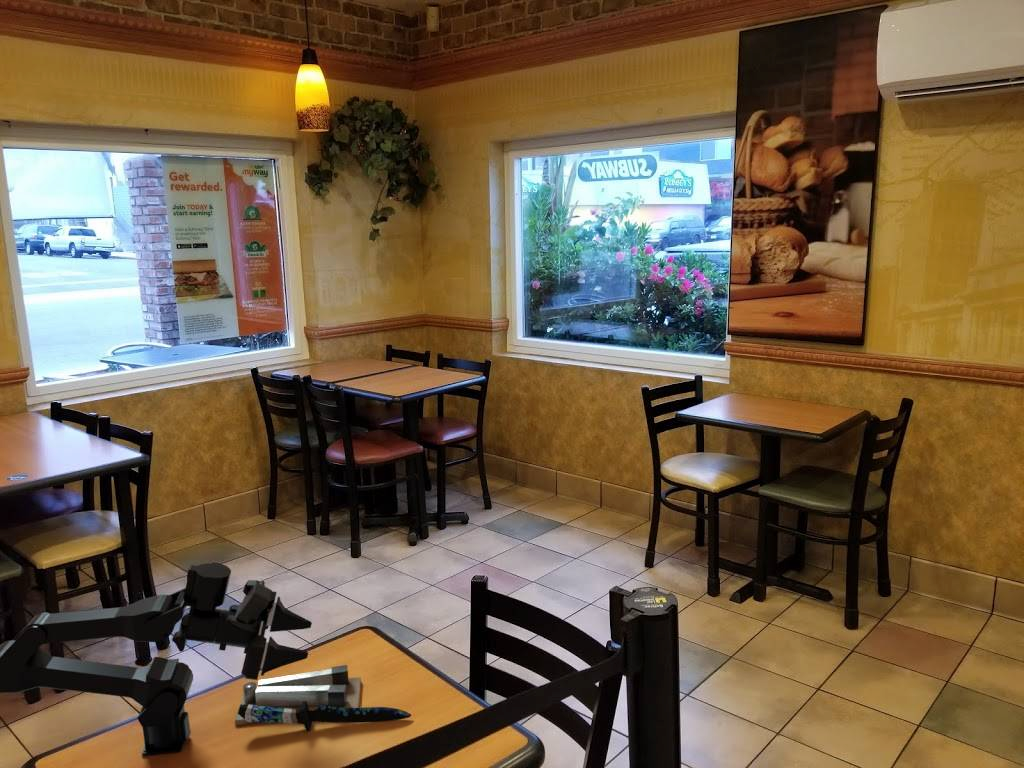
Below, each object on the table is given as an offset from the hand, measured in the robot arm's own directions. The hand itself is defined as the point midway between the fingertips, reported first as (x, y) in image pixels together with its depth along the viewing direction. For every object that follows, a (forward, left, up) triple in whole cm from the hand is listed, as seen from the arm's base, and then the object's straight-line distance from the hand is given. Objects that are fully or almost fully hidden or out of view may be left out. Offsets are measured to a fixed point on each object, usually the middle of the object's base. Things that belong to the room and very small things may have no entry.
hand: (309, 639), depth 137 cm
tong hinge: (-12, +6, -15) cm, 21 cm away
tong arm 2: (-3, +9, -15) cm, 18 cm away
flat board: (-3, +6, -17) cm, 18 cm away
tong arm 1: (-3, +4, -15) cm, 16 cm away
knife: (+2, -2, -17) cm, 17 cm away
